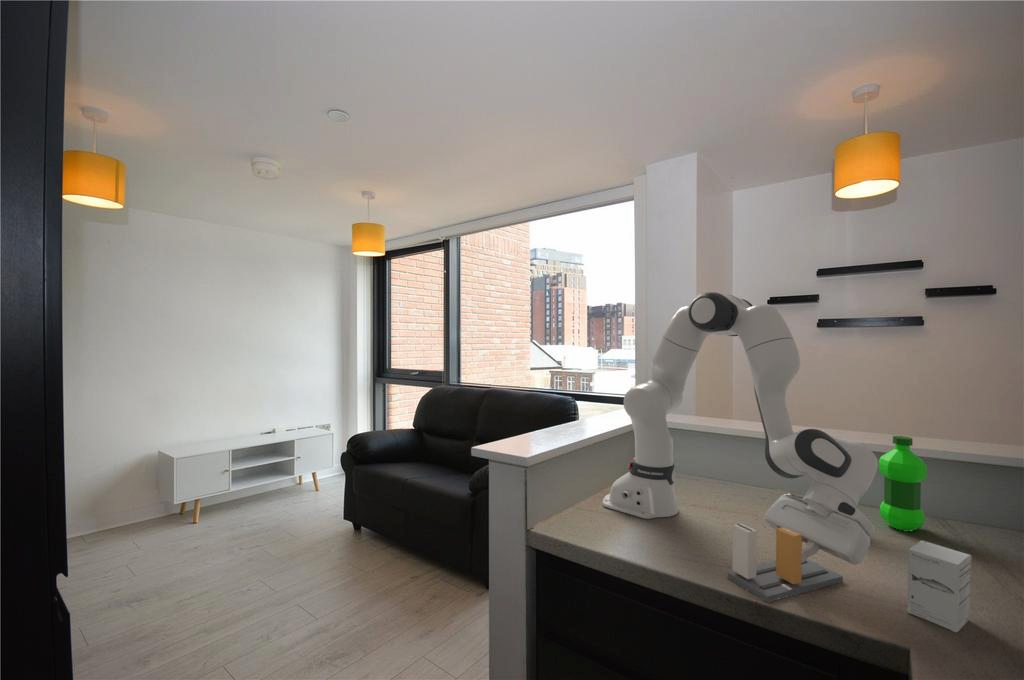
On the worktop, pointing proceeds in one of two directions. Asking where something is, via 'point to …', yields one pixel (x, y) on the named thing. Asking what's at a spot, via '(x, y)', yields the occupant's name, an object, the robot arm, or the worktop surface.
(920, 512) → the plastic bottle
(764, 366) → the robot arm
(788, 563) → the fader orange
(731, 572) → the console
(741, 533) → the fader white
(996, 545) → the worktop surface
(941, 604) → the supplement box
